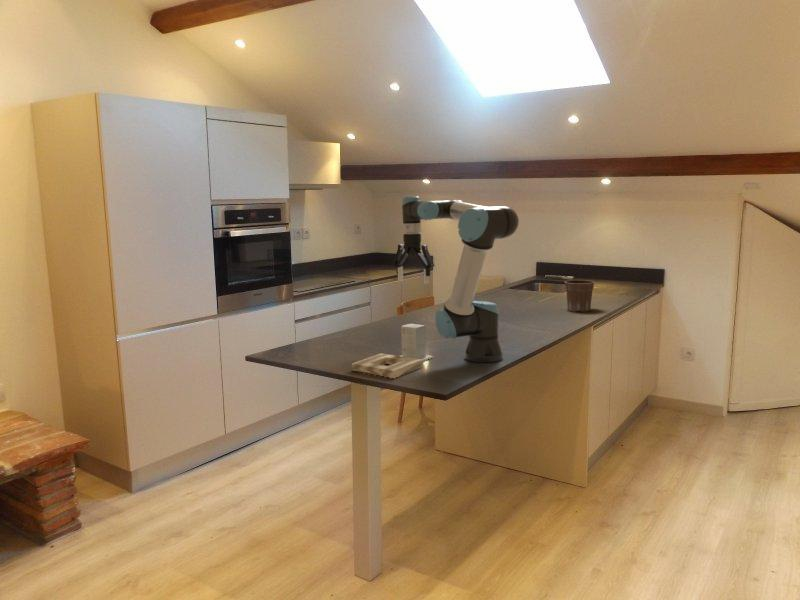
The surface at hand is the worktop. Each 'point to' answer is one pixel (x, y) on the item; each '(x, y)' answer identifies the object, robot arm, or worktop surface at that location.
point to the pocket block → (394, 370)
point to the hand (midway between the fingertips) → (413, 283)
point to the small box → (413, 341)
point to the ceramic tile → (425, 358)
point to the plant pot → (579, 295)
